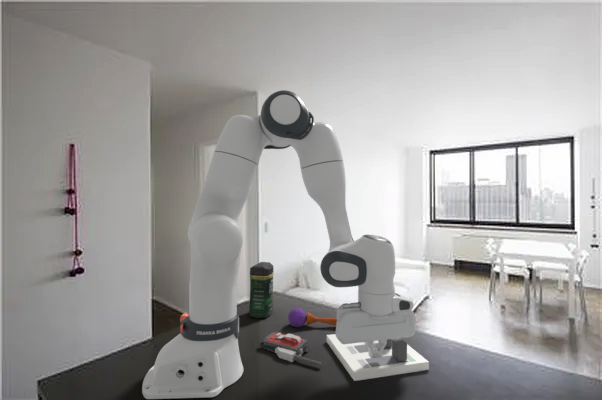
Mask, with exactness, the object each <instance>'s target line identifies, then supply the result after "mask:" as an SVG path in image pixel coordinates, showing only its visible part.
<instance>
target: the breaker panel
mask: <svg viewBox="0 0 602 400" xmlns="http://www.w3.org/2000/svg"><path fill="white" fill-rule="evenodd" d="M326 343H327V345H329V347H330V349H331V350H332V352H333V353H334V354H335V356H336V357H337V359H338V360H339V362H340V363H341V364H342V366H343V367H344V368H345V370H346V372H348V374H349V376H350V377H351V379H353V381H354V382H356V381H363V380H370V379H377V378H381V377H382V378H384V377H389V376H396V375H402V374H403V375H404V374H409V373H417V372H422V371H429V370H430V361H428V359H426V358H425V357H424V356H423V355H421V354H420V353H419V352H418V351H416V350H415V349H414V348H412V347H411V345H409V344H408V343H407V360H404V361H397V360H396V359H395V358H394V357H393V356H392V347H387V348H384V349H383V350H382V357H376V358H370V356H369V354H368V347H367V346H366V344H365V342H361V343H352V344H342V343H341V342H340V341H339V340H338V339H337V337H336V333H334V334H326ZM377 345H378V341H373V345H371V346H372V348H375V347H377Z"/></svg>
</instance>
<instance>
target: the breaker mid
mask: <svg viewBox="0 0 602 400" xmlns="http://www.w3.org/2000/svg"><path fill="white" fill-rule="evenodd" d="M378 343H379V340H378ZM387 347H392V339H387V344H386V346H385V348H387Z"/></svg>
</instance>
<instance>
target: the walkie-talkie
mask: <svg viewBox="0 0 602 400" xmlns="http://www.w3.org/2000/svg"><path fill="white" fill-rule="evenodd" d="M259 347H261V348H263V350H265V349H267V350H266V351H269V352H273V353H274V354H276V356H278V358H279V359H281V360H285V361H288V362H290V363H293V362H294V361H297V362H302V363H305V364H308V365H316V366H319V367H322V366H323V364H322V362H321V361H318V360H313V359H310V358H307V357H303V354H305V353H307V352H309V350H310V344H309V340H308V339H304V338H302V337H301V336H300V335H295V334H293V333H287V334H284V333H281V332H280V331H279V332H274V331H272V332H271V333H270V334H268V335H267V336H265V337H263V341H261V342H259Z"/></svg>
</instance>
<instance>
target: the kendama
mask: <svg viewBox="0 0 602 400" xmlns="http://www.w3.org/2000/svg"><path fill="white" fill-rule="evenodd" d="M287 319H288V323H289V324H290V325H291V326H292V327H294V328H301V327H303V325H305V324H306V326H308V325H311V324H314V323H317V322H318V323H323V324H328V325H332V326H335V327H336V323H337V318H336V317H317V316H315V315H314V314H311V313H310V312H309V311H308V312H307V314H306V312H305V310H303V309H302V308H299V307H298V308H297V307H296V308H293V309H291V311H290V312H289V314H288V317H287Z"/></svg>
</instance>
